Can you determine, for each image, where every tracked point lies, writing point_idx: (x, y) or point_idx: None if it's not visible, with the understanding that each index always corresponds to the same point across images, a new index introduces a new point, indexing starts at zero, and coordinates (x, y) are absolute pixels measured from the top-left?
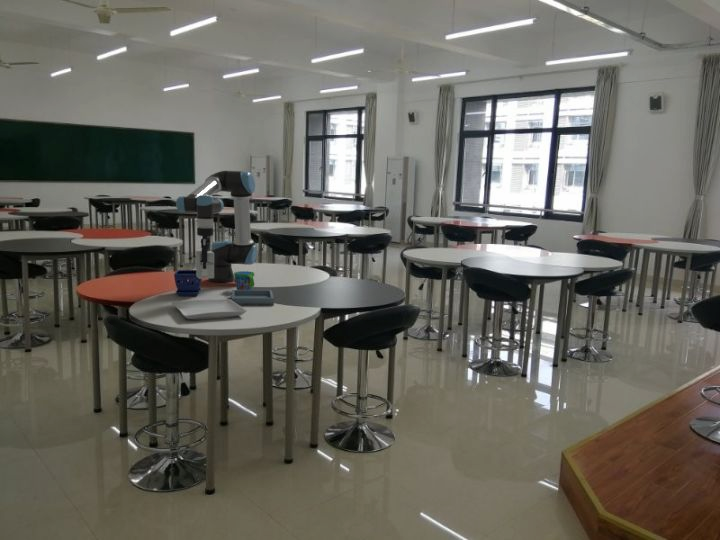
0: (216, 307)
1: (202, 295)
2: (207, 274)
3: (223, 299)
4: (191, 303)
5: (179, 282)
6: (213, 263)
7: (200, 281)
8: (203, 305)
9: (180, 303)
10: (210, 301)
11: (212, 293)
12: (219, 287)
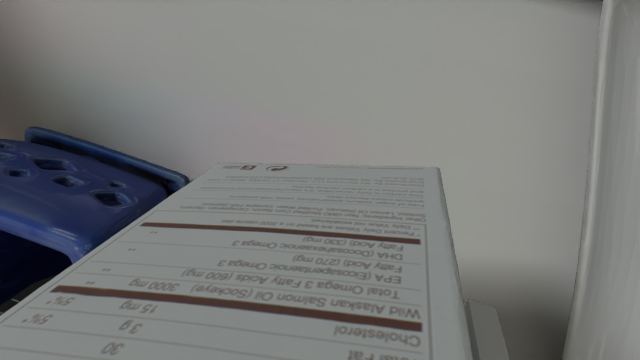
0: None
1: (163, 132)
2: (498, 319)
3: (609, 41)
4: (587, 329)
5: (7, 295)
6: (469, 345)
7: (105, 194)
8: (623, 238)
9: None
10: (603, 179)
11: (95, 37)
12: None
